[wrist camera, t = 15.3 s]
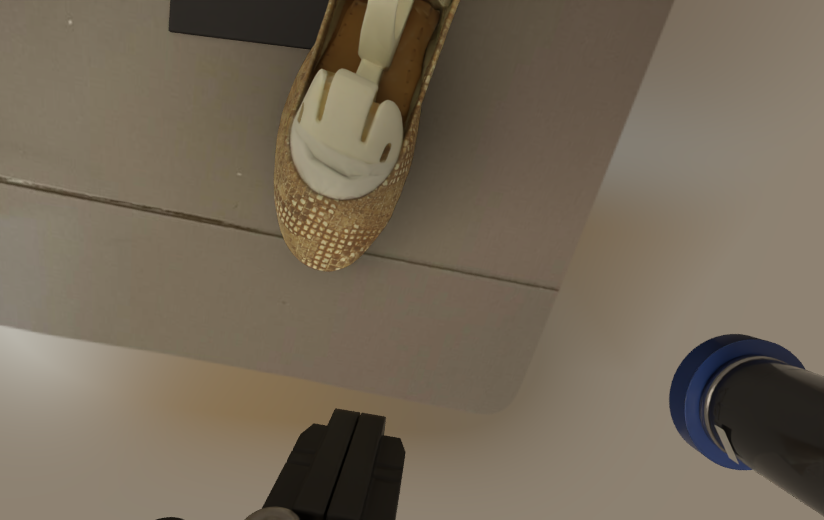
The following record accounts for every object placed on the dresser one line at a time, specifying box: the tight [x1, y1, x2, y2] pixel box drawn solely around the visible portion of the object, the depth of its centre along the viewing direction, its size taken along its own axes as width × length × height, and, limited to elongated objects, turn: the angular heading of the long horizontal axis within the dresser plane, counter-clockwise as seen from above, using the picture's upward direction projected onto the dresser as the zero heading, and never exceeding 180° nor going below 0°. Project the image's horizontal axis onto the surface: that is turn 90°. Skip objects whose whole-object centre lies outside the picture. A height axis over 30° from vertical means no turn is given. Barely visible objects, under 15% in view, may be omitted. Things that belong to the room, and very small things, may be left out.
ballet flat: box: [274, 0, 460, 271], centre depth 29 cm, size 11×30×10 cm, turn 163°
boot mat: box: [169, 0, 329, 49], centre depth 34 cm, size 16×6×1 cm, turn 84°
